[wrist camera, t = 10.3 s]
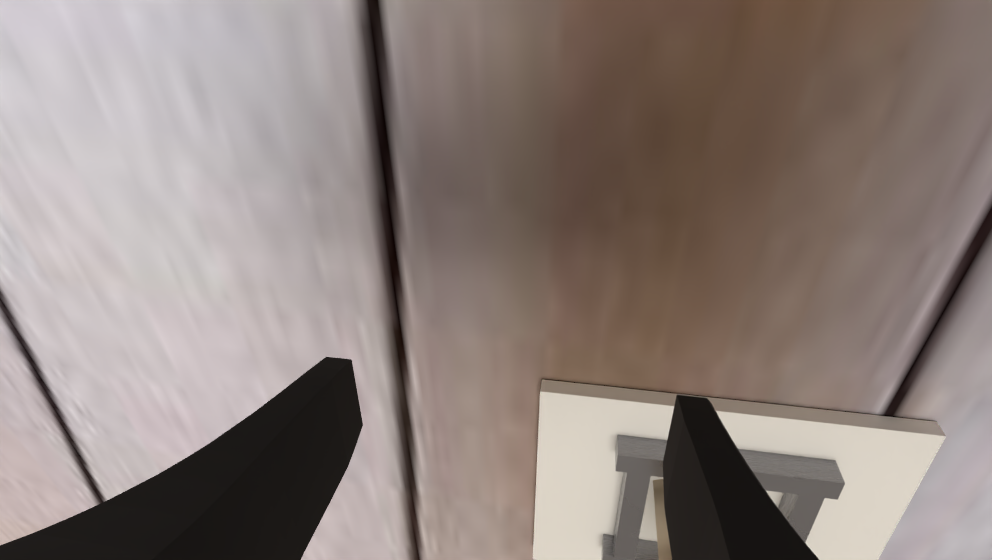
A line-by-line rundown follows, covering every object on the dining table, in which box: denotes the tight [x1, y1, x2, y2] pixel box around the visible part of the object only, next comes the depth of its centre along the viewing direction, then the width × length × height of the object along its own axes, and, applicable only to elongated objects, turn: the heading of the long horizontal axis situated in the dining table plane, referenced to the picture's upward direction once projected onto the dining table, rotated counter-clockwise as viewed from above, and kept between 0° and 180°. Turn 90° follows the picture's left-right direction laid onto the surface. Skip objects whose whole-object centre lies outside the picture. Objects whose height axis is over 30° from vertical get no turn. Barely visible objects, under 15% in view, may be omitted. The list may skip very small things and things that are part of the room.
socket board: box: [533, 379, 946, 560], centre depth 27 cm, size 16×12×2 cm
